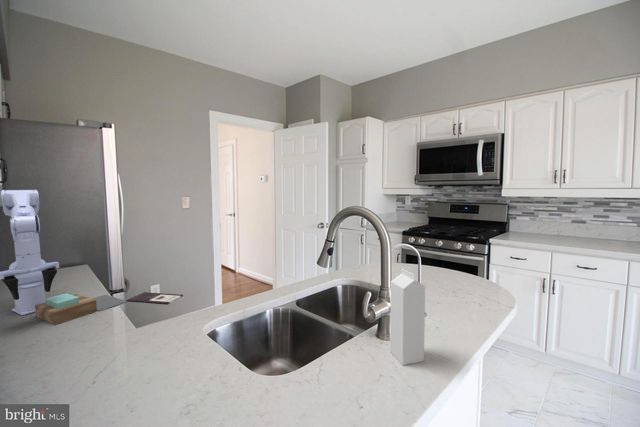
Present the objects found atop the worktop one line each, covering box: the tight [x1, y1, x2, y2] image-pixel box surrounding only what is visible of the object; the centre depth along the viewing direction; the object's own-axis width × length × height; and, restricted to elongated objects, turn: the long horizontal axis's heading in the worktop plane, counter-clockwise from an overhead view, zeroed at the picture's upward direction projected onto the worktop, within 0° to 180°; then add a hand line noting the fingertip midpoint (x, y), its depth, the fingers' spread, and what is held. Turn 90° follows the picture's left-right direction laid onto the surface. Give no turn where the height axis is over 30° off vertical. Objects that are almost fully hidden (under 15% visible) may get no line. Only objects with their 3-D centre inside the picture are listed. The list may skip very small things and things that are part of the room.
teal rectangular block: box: [45, 292, 79, 309], centre depth 104 cm, size 9×6×2 cm, turn 61°
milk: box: [389, 267, 426, 366], centre depth 75 cm, size 6×6×22 cm
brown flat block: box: [34, 293, 98, 326], centre depth 105 cm, size 14×12×4 cm
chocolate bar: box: [125, 291, 184, 306], centre depth 119 cm, size 9×1×18 cm
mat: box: [91, 294, 129, 312], centre depth 115 cm, size 16×10×1 cm, turn 61°
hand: (32, 295), depth 97 cm, fingers open, 7 cm apart
